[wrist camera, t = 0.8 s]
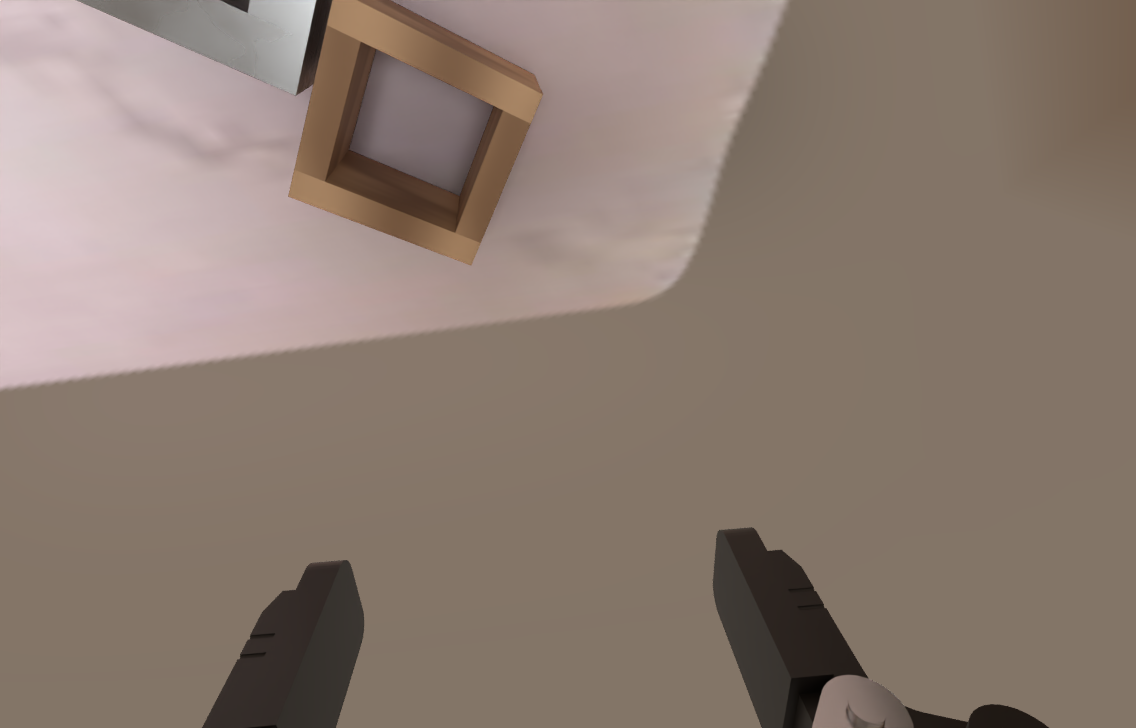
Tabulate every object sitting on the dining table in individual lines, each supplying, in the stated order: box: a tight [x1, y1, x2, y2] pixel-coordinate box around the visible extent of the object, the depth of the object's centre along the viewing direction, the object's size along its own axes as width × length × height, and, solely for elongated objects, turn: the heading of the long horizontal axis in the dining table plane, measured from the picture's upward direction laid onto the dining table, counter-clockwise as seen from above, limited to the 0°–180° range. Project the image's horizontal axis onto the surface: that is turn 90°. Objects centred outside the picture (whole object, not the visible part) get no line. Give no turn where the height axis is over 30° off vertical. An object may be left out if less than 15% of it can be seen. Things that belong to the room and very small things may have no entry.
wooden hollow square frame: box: [288, 0, 543, 265], centre depth 25 cm, size 8×8×5 cm
